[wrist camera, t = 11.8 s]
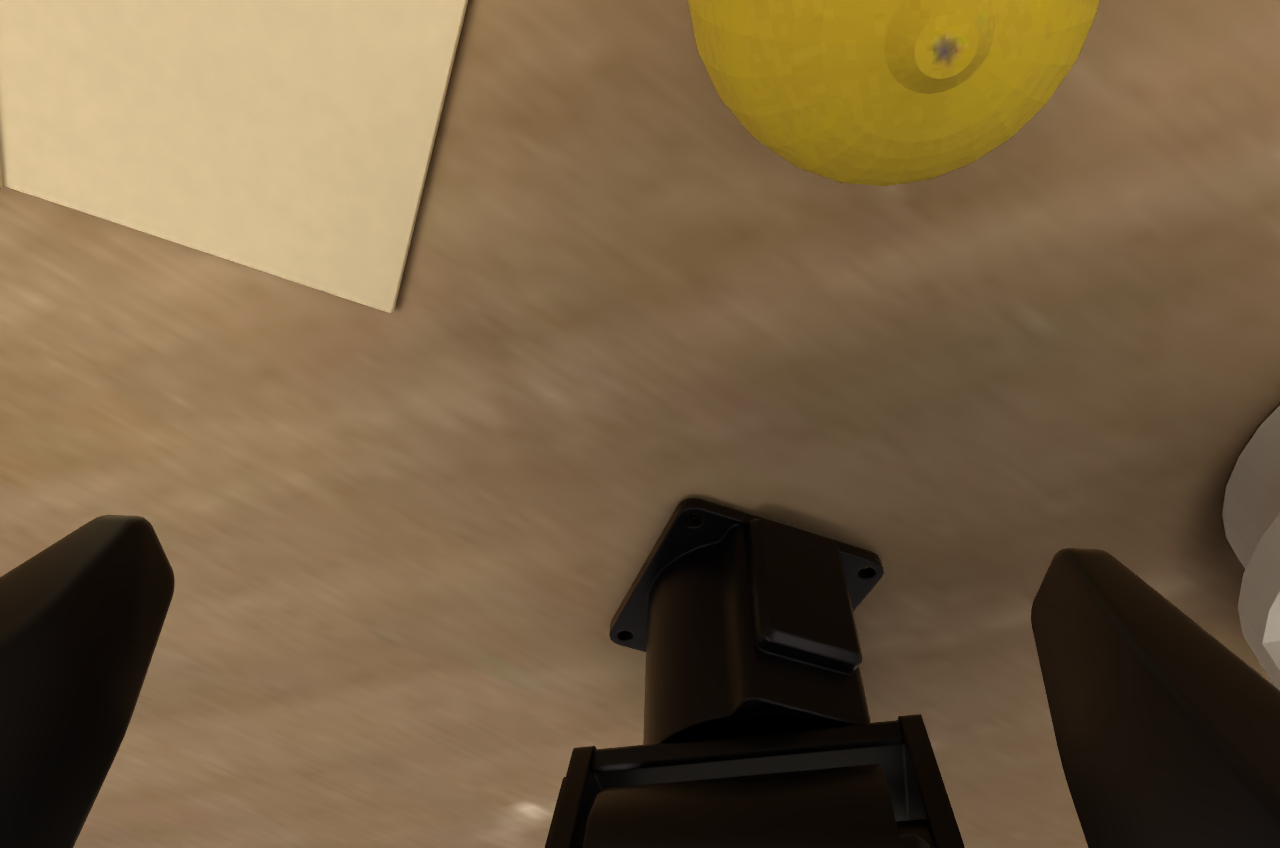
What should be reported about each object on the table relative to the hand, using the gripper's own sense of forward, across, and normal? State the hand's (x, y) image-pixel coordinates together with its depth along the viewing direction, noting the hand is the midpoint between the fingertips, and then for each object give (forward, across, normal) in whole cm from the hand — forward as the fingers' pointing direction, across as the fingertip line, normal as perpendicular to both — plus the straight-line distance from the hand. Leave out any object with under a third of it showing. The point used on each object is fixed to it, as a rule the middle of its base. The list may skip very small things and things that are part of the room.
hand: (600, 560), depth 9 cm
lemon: (+12, -4, -4) cm, 13 cm away
